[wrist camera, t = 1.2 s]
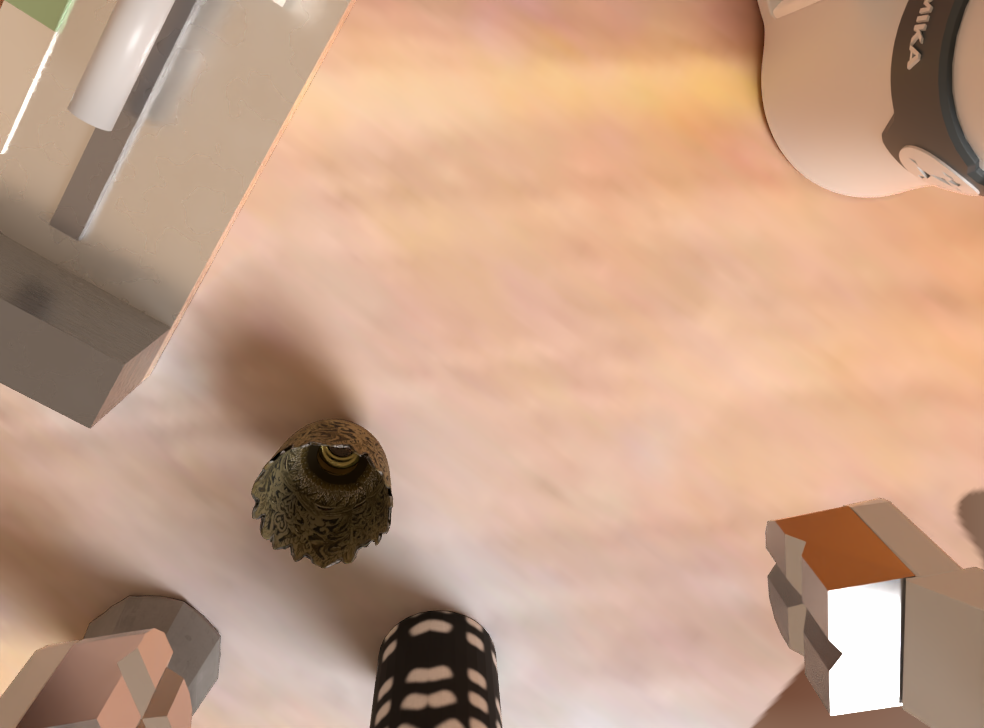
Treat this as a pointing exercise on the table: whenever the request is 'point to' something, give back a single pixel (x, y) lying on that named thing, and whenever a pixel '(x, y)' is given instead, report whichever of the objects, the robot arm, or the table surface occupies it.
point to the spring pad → (119, 60)
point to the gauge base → (132, 180)
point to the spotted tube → (437, 675)
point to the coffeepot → (170, 637)
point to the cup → (325, 493)
